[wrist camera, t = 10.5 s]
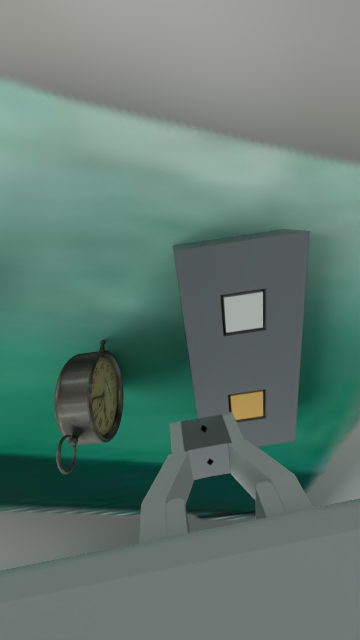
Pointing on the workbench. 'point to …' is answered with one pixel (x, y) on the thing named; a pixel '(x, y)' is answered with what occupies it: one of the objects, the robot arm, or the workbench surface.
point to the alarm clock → (88, 400)
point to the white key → (242, 310)
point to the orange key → (246, 404)
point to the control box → (253, 344)
